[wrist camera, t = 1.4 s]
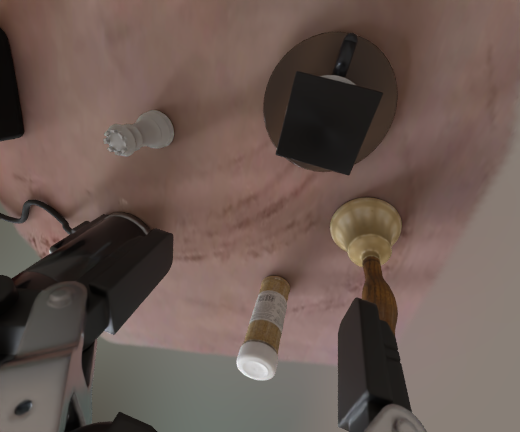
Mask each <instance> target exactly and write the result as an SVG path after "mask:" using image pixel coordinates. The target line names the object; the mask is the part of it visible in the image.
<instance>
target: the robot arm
mask: <svg viewBox="0 0 520 432" xmlns="http://www.w3.org/2000/svg"><path fill="white" fill-rule="evenodd" d="M31 205H37V206H39V207H41V208H43V209H45V210H46V211H47V212H49V213H50V214H51V215H52V216H54V217H55V218H56V219H57V220H58V221H59V222H60V223H61V224H62V226H63V229H64V230H65V231H66V232H67V233H68V234H70V235H69V236H67V237H66V238H64V239H62V240H61V241H59V242H58V243H56V244H54V245H53V246H51V247H50V254H49V255H47V256H46V257H44V258H43V259H41V260H40V261H38V262H36V263H35V264H33V265H32V266H30V267H29V268H27V269H26V270H24V271H22V272H21V273H19V274H18V275H17V276H15V277H13V278H12V279H11V278H9V277H7V276H4V275H0V432H157V431H156V430H155V429H154V428H153V427H152V426H150V425H148V424H146V423H144V422H141V421H139V420H137V419H134V418H132V417H130V416H128V415H125V414H123V413H121V412H119V413H118V414H117V416H116V418H115V419H114V421H113V422H98V423H93V424H92V384H93V375H94V366H95V357H96V347H97V338H98V337H99V336H100V335H101V333H102V332H103V331H106V332H108V333H111V334H113V335H114V334H115V333H116V332H117V331H118V330H119V329H120V328H121V326H122V325H123V324H124V323H125V322H126V321H127V319H128V318H129V317H130V316H131V315H132V314H133V312H134V311H135V310H136V309H137V308H138V307H139V305H140V304H141V303H142V302H143V301H144V300H145V298H146V297H147V296H148V295H149V294H150V293H151V292H152V290H153V289H154V288H155V287H156V286H157V285H158V283H159V282H160V281H161V280H162V279H163V278H164V276H165V275H166V274H167V273H168V271H169V269H170V267H171V265H172V260H173V234H171V233H168V232H166V231H163V230H160V229H157V228H155V229H153V230H152V231H150V230H149V228H148V227H147V226H146V225H145V224H144V223H143V222H142V221H141V220H139V219H138V218H136V217H134V216H132V215H130V214H127V213H122V212H117V213H113V214H110V215H105V214H103V215H101V216H100V217H98V218H97V219H95V220H93V221H92V222H89V221H85V222H83V223H82V224H80V225H78V226H77V227H75V228H73V229H71V228H70V227H69V223H68V222H67V221H66V220H65V219H64V218H63V217H62V216H61V215H60V214H59V213H58V212H56V211H55V210H54V209H53V208H51V207H50V206H49V205H47V204H45V203H44V202H41V201H39V200H28V201H26V202H25V203H24V206H23V210H22V216H21V218H20V219H17V218H12V217H9V216H6V215H4V214H1V213H0V219H2V220H5V221H8V222H12V223H23V222H25V221H26V220H27V218H28V214H29V209H30V206H31ZM397 350H398V347H397V343H396V338H395V335H394V333H393V331H392V330H391V328H390V326H389V325H388V323H387V322H386V321H383V320H380V319H379V313H378V307H377V305H376V304H375V303H372V302H369V301H366V300H363V299H360V298H355V299H354V301H353V302H352V304H351V306H350V307H349V309H348V311H347V313H346V314H345V316H344V318H343V320H342V322H341V324H340V327H339V332H338V427H340V428H342V429H345V430H347V431H349V432H427V431H426V430H425V428H424V426H423V425H422V423H421V422H420V421H419V420H418V419H417V417H416V416H415V415H414V414H413V413H412V410H411V407H410V402H409V397H408V393H407V388H406V384H405V379H404V375H403V370H402V366H401V363H400V356H399V352H398V351H397Z"/></svg>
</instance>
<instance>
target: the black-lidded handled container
mask: <svg viewBox="0 0 520 432" xmlns="http://www.w3.org/2000/svg"><path fill="white" fill-rule="evenodd" d="M357 42H358V38H357V36H356V34H354V33H349V34H347V35H346V36H345V37H344V39H343V42H342V45H341V48H340V51H339V54H338V57H337V60H336V64H335V67H334V70H333V73H332V75H324V76H317V75H313V74H309V73H305V72H300V71H296V74H295V78H294V82H293V86H292V90H291V94H290V98H289V102H288V106H287V109H286V113H285V118H284V122H283V126H282V130H281V134H280V138H279V142H278V146H277V150H276V155H278V156H282V157H285V158H289V159H292V160H296V161H299V162H303V163H306V164H310V165H313V166H317V167H321V168H324V169H328V170H331V171H335V172H338V173H342V174H345V175H350V172H351V170H352V168H353V165H354V163H355V160H356V158H357V156H358V153H359V151H360V148H361V146H362V144H363V141H364V139H365V136H366V134H367V132H368V129H369V127H370V124H371V122H372V120H373V117H374V115H375V112H376V110H377V107H378V105H379V103H380V100H381V98H382V95H383V92H380V91H377V90H373V89H369V88H365V87H361V86H357V85H356V84H354V83H353V82H352V81H350V80H348V79H346V75H347V72H348V69H349V66H350V63H351V60H352V57H353V54H354V51H355V48H356V45H357Z"/></svg>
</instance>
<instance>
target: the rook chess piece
mask: <svg viewBox="0 0 520 432" xmlns="http://www.w3.org/2000/svg"><path fill="white" fill-rule="evenodd" d="M104 135H105V136H107V138H105V139H103V140H104V144H107V143H108V144H109V146H110V147H108V148H107V149H108V150H109V151H110V152H115V155H121V156H130V155H132V154H133V153H134V151H136V150H139V149H140V148H141V147H143V146H148V147H151V148H158V149H159V148H162V147H166V146H168V145H169V144H170V143H171V142H172V140H173V137H174V129H173V126H172V123H171V121H170V120H169V118H168V117H167V116H166V115H165V114H163V113H161V112H160V111H156V110H151V111H149V112H145V113H143V114H141V115H140V117H139V118H138V119H137V121H136V123H134V124H132V125H131V124H125V125H120V124H114V125H112V126H110V127H109V129H108V131H106V132H105V133H104Z"/></svg>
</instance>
